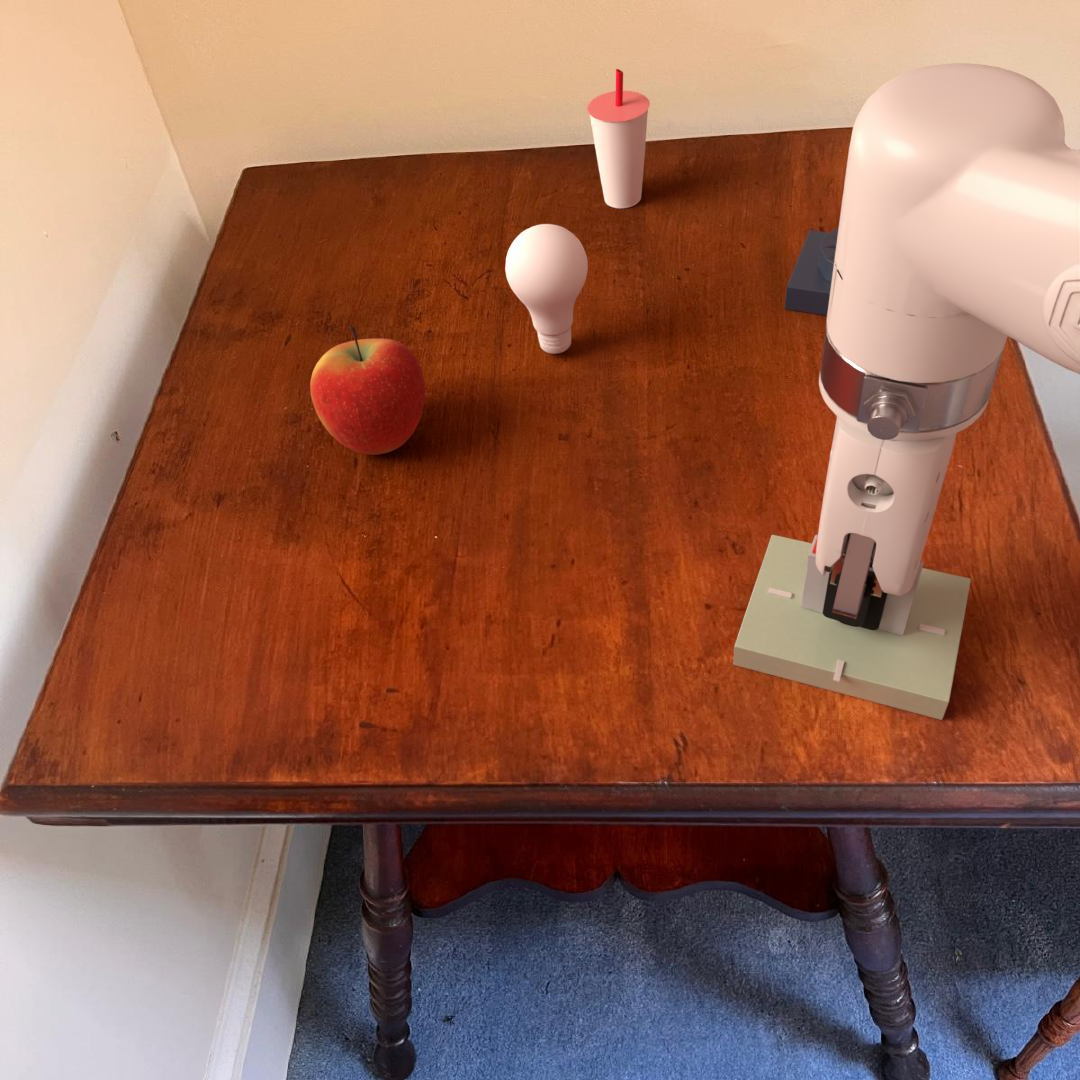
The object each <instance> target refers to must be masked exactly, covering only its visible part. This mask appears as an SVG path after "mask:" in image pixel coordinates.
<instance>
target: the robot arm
mask: <svg viewBox="0 0 1080 1080" xmlns="http://www.w3.org/2000/svg"><path fill="white" fill-rule="evenodd" d="M1065 131H1066V130H1065V121H1064V116H1063V114H1062V111H1061V109H1060V107H1059V105H1058V103H1057V100H1056V99H1055V98H1054V96H1052V95H1051V93H1050V92H1049V91H1048V90H1046V89H1045V88H1044V87H1043V86H1042V85H1040V84H1039V83H1038V82H1036V81H1034V80H1033V79H1032V78H1029V77H1027V76H1025V75H1023V74H1021V73H1018V72H1015V71H1013V70H1010V69H1007V68H1002V67H998V66H993V65H987V64H980V63H965V62H963V63H960V62H959V63H955V62H954V63H944V64H934V65H933V64H932V65H928V66H923V67H918V68H916V69H912V70H908V71H906V72H904V73H902V74H899V75H898V76H895V77H893V78H892V79H889V80H888V81H887V82H885V83H883V84H882V85H880V86H878V88H877V89H876V90H875V91H874V92H873V93H872V94H870V96H869V97H868V98H867V99H866V100H865V101H864V104H863V105H862V107H861V109H860V110H859V112H858V114H857V116H856V117H855V121H854V123H853V126H852V131H851V137H850V141H849V147H848V154H847V161H846V169H845V175H844V183H843V192H842V199H841V205H840V206H841V207H840V215H839V222H838V227H839V229H838V237H837V244H836V252H835V259H834V267H833V275H832V282H831V290H830V298H829V305H828V313H827V315H826V322H825V330H824V338H823V344H822V352H821V359H820V366H819V376H818V387H819V392H820V394H821V397H822V399H823V401H824V403H825V404H826V405H827V407H828V409H830V411H831V412H832V413H833V414H834V415H835V416H836V420H835V426H834V427H835V428H834V431H833V437H832V444H831V449H830V452H829V461H828V466H827V472H826V478H825V485H824V490H823V496H822V497H823V499H822V504H821V510H820V517H819V518H820V519H819V523H818V524H819V525H818V531H817V535H818V539H817V547H816V566H817V568H818V570H819V571H820V573H821V574H822V575H823V576H824V575H825V573H826V572H828V573H829V578H828V584H827V590H826V596H825V601H824V607H823V615H824V616H825V617H827V618H830V619H833V620H837V621H839V622H841V623H843V624H846V625H849V626H853V627H862V628H866V629H869V630H877V629H878V628H879V625H880V622H881V618H882V614H883V610H884V606H885V602H886V598H887V594H888V593H889V594H894V595H897V596H901V595H903V594H905V593H907V592H908V591H910V590H911V588H912V586H913V583H914V580H915V577H916V574H917V571H918V567H919V564H920V561H921V562H922V557H923V553H924V552H925V551H924V550H925V547H926V544H927V541H928V537H929V533H930V530H931V527H932V524H933V520H934V516H935V514H936V509H937V506H938V504H939V500H940V496H941V493H942V489H943V485H944V482H945V478H946V476H947V472H948V467H949V464H950V461H951V457H952V455H953V454H952V453H953V449H954V447H955V442H956V437H957V433H960V432H961V431H964V430H965V429H967V428H969V427H970V426H971V425H973V424H974V423H975V422H976V421H977V420H978V419H979V418H980V417H981V416H982V415H983V413H984V411H985V410H986V408H987V407H988V405H989V400H990V397H991V394H992V391H993V387H994V383H995V380H996V377H997V374H998V370H999V367H1000V364H1001V360H1002V358H1003V353H1004V350H1005V345H1006V342H1007V340H1008V338H1010V339H1012V340H1014V341H1016V342H1017V343H1019V344H1020V345H1022V346H1024V347H1025V348H1027V349H1029V350H1031V351H1033V352H1035V353H1036V354H1038V355H1040V356H1042V357H1043V358H1045V359H1046V360H1048V361H1050V362H1052V363H1054V364H1056V365H1058V366H1061V367H1062V368H1064V369H1066V370H1068V371H1071V372H1073V373H1076V374H1078V375H1080V149H1074V148H1070V147H1069V146H1067V144H1066V141H1065V139H1066V135H1065V134H1066V133H1065ZM869 568H873V570H874V571H870V570H869Z"/></svg>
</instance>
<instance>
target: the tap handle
mask: <svg viewBox="0 0 1080 1080" xmlns="http://www.w3.org/2000/svg"><path fill="white" fill-rule="evenodd" d="M817 539H818V534H814V536H813V540H812V542H811V543H812V545H811V548H810V550H809V553H808V558H807V565H806V572H805V579H804V585H803V592H802V599H801V607H802V608H806V609H809V610H813V611H817V612H820V613H823V607H824V601H825V596H826V590H827V584H828V578H829V573H828V572H826V573H825V575H824V576H823V575H822V574H821V573H820V571H819V570H818V568H817V566H816V547H817ZM924 565H925V563H924V562H923V561H922V560H921V561H920V564H919V567H918V571H917V574H916V577H915V580H914V583H913V586H912V588H911V590H910V591H908V592H907V593H905V594H903V595H901V596H897V595H894V594H889V593H888V594H887V598H886V602H885V606H884V610H883V614H882V618H881V622H880V625H879V628H878V629H880V630H884V631H888V632H891V633H895V634H898V635H902V636H903V635H904V632H905V628H906V625H907V621H908V618H909V614H910V611H911V607H912V604H913V600H914V597H915V593H916V589H917V586H918V582H919V579H920V575H921V572H922V568H924ZM869 570H870V571H874V570H873V568H869Z"/></svg>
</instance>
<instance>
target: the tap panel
mask: <svg viewBox="0 0 1080 1080" xmlns="http://www.w3.org/2000/svg"><path fill="white" fill-rule="evenodd" d="M768 541H769V542H768V545H767V548H766V550H765V554H764V557H763V559H762V562H761V565H760V569H759V571H758V574H757V578H756V579H755V583H754V586H753V589H752V592H751V595H750V598H749V601H748V603H747V607H746V610H745V612H744V615H743V616H744V617H743V619H742V622H741V624H740V628H739V631H738V633H737V637H736V639H735V643H734V645H733V659H732V660H733V661H732V663H733V666H737V667H741V668H743V669H748V670H751V671H755V672H758V673H763V674H766V675H769V676H770V675H771V676H774V677H778V678H782V679H785V680H788V681H792V682H796V683H801V684H805V685H808V686H811V687H816V688H819V689H823V690H827V691H831V692H834V693H837V694H841V695H844V696H845V695H846V696H850V697H854V698H855V699H856V698H857V699H861V700H865V701H869V702H872V703H876V704H879V705H882V706H887V707H890V708H894V709H898V710H902V711H906V712H910V713H913V714H916V715H921V716H925V717H928V718H932V719H936V720H939V721H943V719H944V717H945V715H946V711H947V710H948V709H947V708H948V706H949V704H950V700H951V695H952V694H951V693H952V688H953V682H954V676H955V671H956V666H957V660H958V655H959V648H960V645H961V637H962V634H963V633H962V632H963V627H964V621H965V615H966V609H967V604H968V598H969V594H970V593H969V592H970V588H971V581H972V579H971V577H970V578H969V577H966V576H960V575H957V574H952V573H948V572H943V571H939V570H934V569H930V568H925V567H923V568H922V572H921V575H920V579H919V582H918V586H917V589H916V593H915V597H914V600H913V604H912V607H911V611H910V614H909V618H908V621H907V625H906V628H905V632H904V635H903V636H902V635H898V634H895V633H891V632H888V631H884V630H880V629H877V630H869V629H866V628H862V627H853V626H849V625H846V624H843V623H841V622H839V621H837V620H833V619H830V618H827V617H825V616H824V615H823V613H820V612H817V611H813V610H809V609H806V608H802V607H801V599H802V592H803V585H804V579H805V572H806V565H807V558H808V553H809V550H810V548H811V545H812V542H807V541H803V540H798V539H794V538H791V537H790V538H789V537H786V536H781V535H776V534H771V535H770V538H769V540H768Z"/></svg>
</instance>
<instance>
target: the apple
mask: <svg viewBox="0 0 1080 1080" xmlns="http://www.w3.org/2000/svg"><path fill="white" fill-rule="evenodd" d="M348 328H349V330H350V332H351V334H352V336H353V338H354V340H350V341H346V342H343V343H339V344H337V345H335V346H333V347H332V348H330V349H329V350H327V351H326V352H325V353H324V354H323V355H322V356H321V357H320V359H319V360H318V361H317V363H316V364H315V366H314V368H313V370H312V374H311V377H310V382H309V388H310V397H311V398H310V399H311V402H312V405H313V408H314V410H315V413H316V416H317V417H318V419H319V421H320V422H321V424H322V425H323V427H324V428H325V430H326V431H327V432H328V433H329V435H330V436H331V437H332V438H334V439H335V440H336V441H337V442H338V443H339V444H341V446H344V447H345V448H347V449H349V450H351V451H353V452H355V453H358V454H362V455H370V456H371V455H372V456H376V455H383V454H387V453H391V452H392V451H395V450H397V449H399V448H401V447H402V446H403V445H405V443H406V442H407V441H408V440H409V439H410V438H411V437H412V436H413V434H414V433H415V430H416V429H417V427H418V425H419V422H420V420H421V417H422V416H423V410H424V405H425V401H426V400H425V399H426V383H425V378H424V373H423V369H422V367H421V364H420V363H419V360H418V359H417V357H416V356H415V354H414V353H413V352H412V350H410V348H408V346H406V345H405V344H403V343H401V342H400V341H397V340H394V339H390V338H383V337H382V338H380V337H379V338H378V337H377V338H375V337H374V338H362V339H358V336H357V331H356V326H354V325H348Z"/></svg>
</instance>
